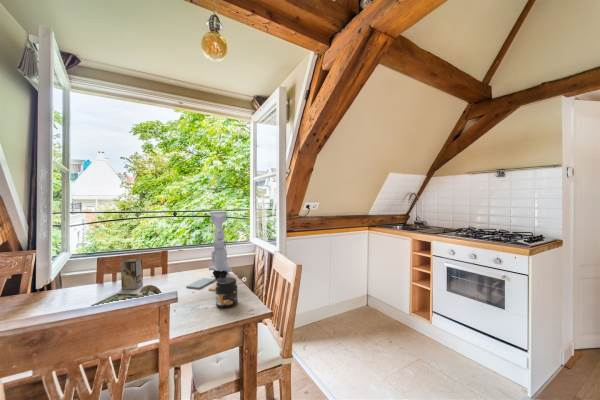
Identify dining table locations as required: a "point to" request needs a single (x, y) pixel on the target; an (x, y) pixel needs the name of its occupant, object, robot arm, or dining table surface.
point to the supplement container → (226, 292)
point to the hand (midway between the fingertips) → (220, 283)
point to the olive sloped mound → (131, 295)
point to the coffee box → (131, 274)
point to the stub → (214, 286)
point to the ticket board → (201, 283)
